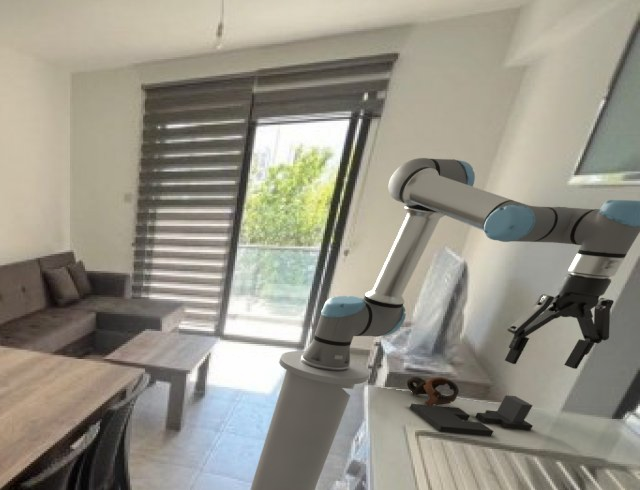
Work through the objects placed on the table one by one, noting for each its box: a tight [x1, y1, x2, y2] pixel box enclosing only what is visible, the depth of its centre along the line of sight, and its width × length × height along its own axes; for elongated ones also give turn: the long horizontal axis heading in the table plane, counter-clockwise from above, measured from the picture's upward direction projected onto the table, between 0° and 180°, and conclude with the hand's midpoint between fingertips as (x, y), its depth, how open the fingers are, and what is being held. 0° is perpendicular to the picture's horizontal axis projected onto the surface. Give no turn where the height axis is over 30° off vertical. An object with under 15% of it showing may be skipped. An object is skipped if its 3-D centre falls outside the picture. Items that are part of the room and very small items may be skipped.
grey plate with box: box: [474, 394, 534, 432], centre depth 125 cm, size 8×10×6 cm
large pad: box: [409, 403, 494, 437], centre depth 125 cm, size 14×12×2 cm
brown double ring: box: [406, 376, 459, 406], centre depth 136 cm, size 12×10×8 cm
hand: (539, 364), depth 118 cm, fingers open, 13 cm apart
